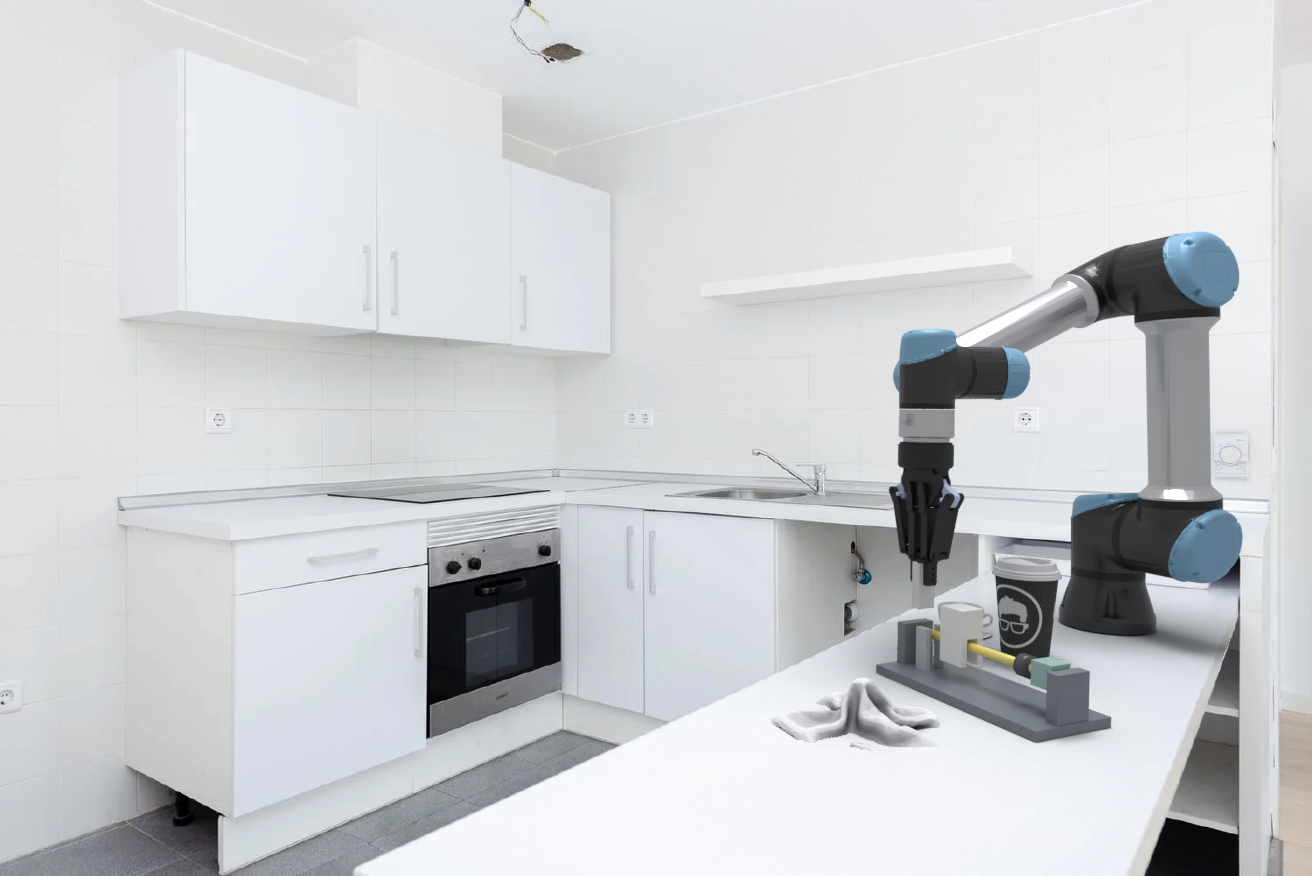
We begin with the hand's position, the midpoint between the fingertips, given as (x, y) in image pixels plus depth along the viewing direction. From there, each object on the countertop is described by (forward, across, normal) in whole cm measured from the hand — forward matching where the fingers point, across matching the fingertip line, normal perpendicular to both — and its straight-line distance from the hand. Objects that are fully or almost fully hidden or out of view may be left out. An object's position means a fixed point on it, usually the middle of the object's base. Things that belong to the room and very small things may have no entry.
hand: (922, 607), depth 122 cm
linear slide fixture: (+9, +12, 0) cm, 15 cm away
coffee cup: (+10, +2, +18) cm, 20 cm away
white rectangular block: (+6, +7, 0) cm, 9 cm away
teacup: (+10, -15, +21) cm, 28 cm away
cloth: (+10, +15, -20) cm, 27 cm away
